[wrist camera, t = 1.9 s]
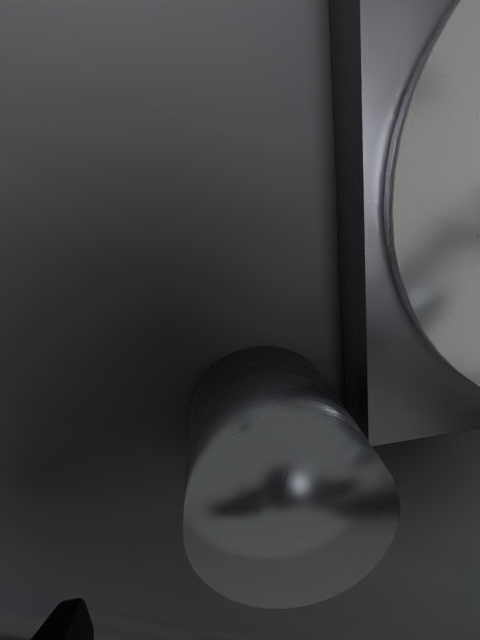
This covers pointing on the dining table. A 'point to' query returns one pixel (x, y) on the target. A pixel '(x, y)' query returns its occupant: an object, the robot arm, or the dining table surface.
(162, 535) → the dining table surface
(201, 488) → the steel spacer
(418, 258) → the dial scale
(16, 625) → the dining table surface
